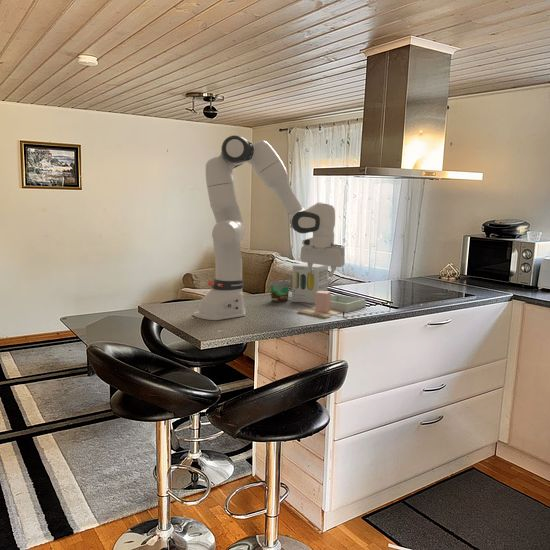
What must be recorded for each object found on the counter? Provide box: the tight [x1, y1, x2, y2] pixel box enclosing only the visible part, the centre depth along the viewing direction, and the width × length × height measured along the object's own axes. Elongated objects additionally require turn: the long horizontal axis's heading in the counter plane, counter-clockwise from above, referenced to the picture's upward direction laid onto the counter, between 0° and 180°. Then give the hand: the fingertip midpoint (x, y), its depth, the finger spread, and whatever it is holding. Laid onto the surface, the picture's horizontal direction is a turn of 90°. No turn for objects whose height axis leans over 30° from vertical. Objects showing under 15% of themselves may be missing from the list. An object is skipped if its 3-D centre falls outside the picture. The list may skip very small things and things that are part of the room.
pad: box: [297, 306, 345, 320], centre depth 214 cm, size 14×14×1 cm
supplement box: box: [291, 261, 329, 304], centre depth 238 cm, size 13×13×18 cm
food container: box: [269, 277, 292, 303], centre depth 237 cm, size 12×6×10 cm, turn 143°
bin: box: [330, 293, 367, 313], centre depth 225 cm, size 15×15×4 cm
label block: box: [314, 290, 332, 312], centre depth 215 cm, size 5×5×8 cm
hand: (321, 275), depth 211 cm, fingers open, 8 cm apart
